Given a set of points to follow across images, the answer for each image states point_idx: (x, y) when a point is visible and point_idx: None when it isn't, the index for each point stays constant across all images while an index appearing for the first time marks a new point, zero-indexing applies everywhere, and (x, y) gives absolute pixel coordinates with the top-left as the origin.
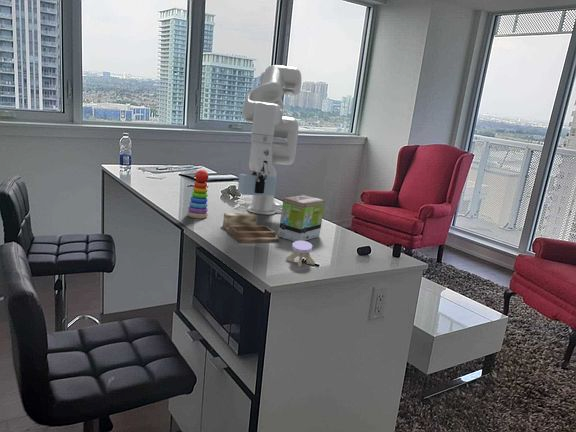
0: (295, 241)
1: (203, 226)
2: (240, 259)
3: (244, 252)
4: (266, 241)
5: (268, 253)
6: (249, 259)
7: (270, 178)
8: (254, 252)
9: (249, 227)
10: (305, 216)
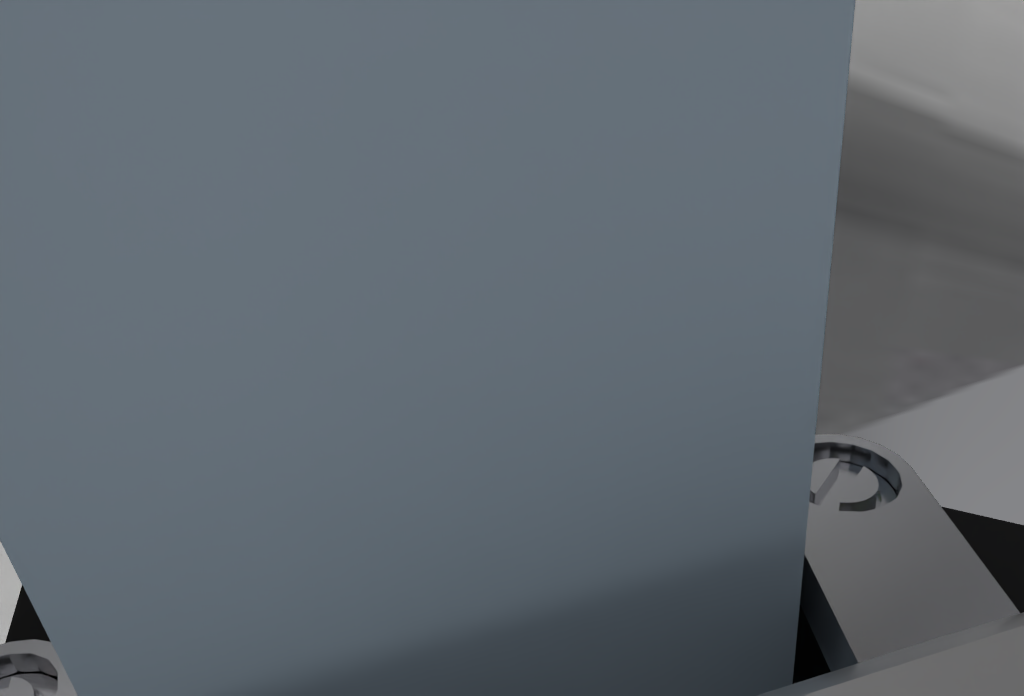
0: None
1: (15, 605)
2: (960, 352)
3: (833, 303)
4: None
5: (894, 95)
6: (976, 291)
7: (792, 249)
8: (848, 220)
9: None
10: None
